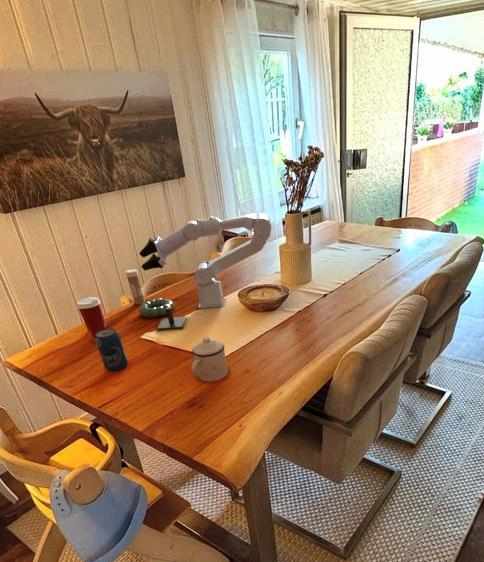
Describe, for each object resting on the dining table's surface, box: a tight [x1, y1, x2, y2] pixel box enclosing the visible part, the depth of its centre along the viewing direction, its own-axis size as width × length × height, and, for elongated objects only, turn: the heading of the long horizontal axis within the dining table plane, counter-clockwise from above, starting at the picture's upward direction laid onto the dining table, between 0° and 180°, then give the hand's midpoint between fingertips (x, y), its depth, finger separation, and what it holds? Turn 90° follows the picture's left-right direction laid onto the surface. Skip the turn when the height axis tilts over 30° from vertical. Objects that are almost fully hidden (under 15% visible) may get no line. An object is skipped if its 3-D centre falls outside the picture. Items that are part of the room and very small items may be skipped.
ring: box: [138, 297, 175, 319], centre depth 167 cm, size 13×13×4 cm
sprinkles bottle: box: [125, 268, 146, 306], centre depth 175 cm, size 5×5×13 cm
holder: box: [156, 307, 187, 332], centre depth 155 cm, size 9×9×6 cm
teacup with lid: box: [190, 336, 229, 383], centre depth 121 cm, size 12×9×12 cm
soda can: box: [95, 327, 129, 373], centre depth 129 cm, size 7×7×12 cm
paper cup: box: [76, 296, 108, 343], centre depth 148 cm, size 8×8×14 cm
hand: (142, 261), depth 160 cm, fingers open, 7 cm apart
